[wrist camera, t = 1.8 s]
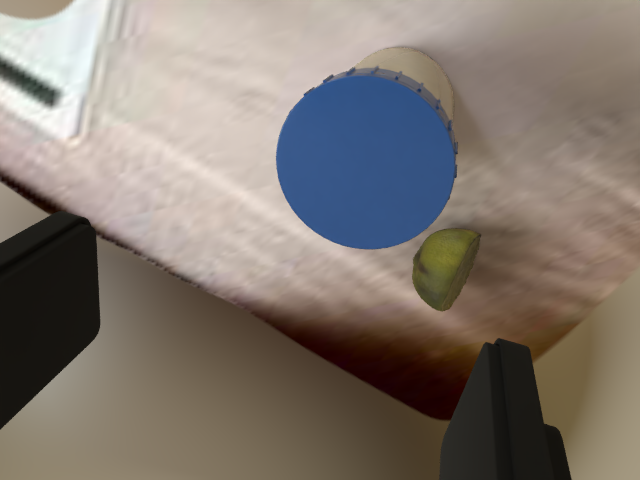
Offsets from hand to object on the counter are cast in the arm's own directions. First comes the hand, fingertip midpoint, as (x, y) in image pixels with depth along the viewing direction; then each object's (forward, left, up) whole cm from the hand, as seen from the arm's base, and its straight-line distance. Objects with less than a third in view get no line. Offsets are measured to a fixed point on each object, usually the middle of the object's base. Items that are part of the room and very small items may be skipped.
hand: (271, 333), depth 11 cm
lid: (0, 0, -11) cm, 11 cm away
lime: (+4, +9, -21) cm, 23 cm away
